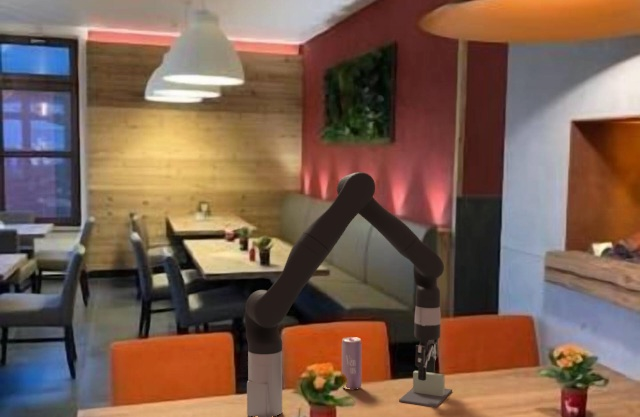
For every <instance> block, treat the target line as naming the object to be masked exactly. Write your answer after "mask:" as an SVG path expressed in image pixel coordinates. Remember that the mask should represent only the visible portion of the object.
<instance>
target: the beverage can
mask: <svg viewBox="0 0 640 417" xmlns="http://www.w3.org/2000/svg"><path fill="white" fill-rule="evenodd" d="M361 340H362V339H361V338H359V337H354V336H353V337H352V336H350V337H349V336H347V337H343V338H342V342H341V375H342V374H344V375H345V376H346V378H347V384H346V387H347V388H350V389H357V388H360V389H361V387H362V341H361Z"/></svg>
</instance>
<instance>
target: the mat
mask: <svg viewBox="0 0 640 417" xmlns="http://www.w3.org/2000/svg"><path fill="white" fill-rule="evenodd" d="M452 392H453V389H452V388H451V389H450V388H445V387H444V396H436V395H429V394H422V393H415V392H413V387H412V388H411V389H410V390H408V391H407V392H406V393H405V394H404V395H403V396H402V397H401V398H399V399H398V401H399V403H405V404H412V405H419V406H424V407H431V408H438V407H439V406H440V405H441V403H442V402H444V400H445V399H446V398H447V397H448V396H449V395H450V394H451V393H452Z"/></svg>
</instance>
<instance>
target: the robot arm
mask: <svg viewBox="0 0 640 417" xmlns="http://www.w3.org/2000/svg"><path fill="white" fill-rule="evenodd" d="M375 192H376V183H375V179H373V177H372V176H371V175H370V174H368V173H366V172H362V171H361V172H357V171H356V172H353V173H350V174H347V175H345V176H343V177H342V178H340V180H339V181H338V182H337V186H336V193H337V196H336V198H335V199H334V201H333V202H332V203H331V204H330V206H329V207H328V208H327V209H326V210H325V211H323V213H322V214H321V215H318V217H317V218H316V219H315V220H314V221H313V222H311V224H310V225H309V226H308V227H307V228H306V229H305V230H304V231H303V232H302V234H301V235H300V236H299V238H298V239H297V240H296V242H295V243H294V244H293V245H292V248H291V250H290V252H289V254H288V256H287V258H286V259H287V260H286V262H285V264H284V267H283V269H282V271H281V273H280V275H279V276H278V278H277V279H276V280H275V282H274V283H273V284H272V285H271V286H270V288H269V289H268V290H266V289H259V290H256V291H254V292H252V293H251V294H250V295H249V297H248V298H247V300H246V302H245V310H244V315H245V320H244V321H245V337H246V341H247V348H248V349H247V351H248V352H247V354H248V356H247V360H248V361H247V366H248V367H247V369H248V372H247V373H248V374H247V375H248V378H247V379H248V380H247V382H246V416H247V415H249V416H248V417H251V416H258V417H272V416H276V417H278V416H277V415H279V414H281V413H282V414H283V340H282V338H281V335H280V332H279V324H281V322H282V321H284V319H285V317H286V316H287V314H288V312H289V311H290V309H291V307H292V305H293V304H294V302H295V300H296V299H297V298H298V296H299V294H300V293H301V291H302V290H303V288H304V287H305V286H306V284H307V283H308V282H309V281H310V279H311V278H312V277H313V275H314V274H315V272H316V271H317V270H318V269H319V267H320V266H321V265H322V264H323V262H324V261H325V260H326V258H327V257H328V256H329V254H330V253H331V251H332V250H333V249H334V247H335V246H336V244H337V243H338V241H339V240H340V239H341V237H342V236H343V235H344V232H345V231H346V229H347V228H348V227H349V224H350V223H351V222H352V221H353V220H354V219H355V218H356V217H357V215H360V217H362V218H363V219H365V221H367V222H368V223H369V224H370V225H371V226H372V227H374V228H375V229H376V230H377V231H378V233H379V234H380V235H382V237H384V239H386V241H388V243H389V244H390V245H391V246H392V247H393V248H394V249H395V250H396V251H397V252H398V253H399V254H400V255H402V256H403V257H404V258H406V259H407V260H408V261H410V262H411V264H413V266H412V267H413V270H412V272H413V278H414V284H415V290H416V291H415V309H414V310H415V311H414V327H413V328H414V329H413V330H414V331H413V332H414V334H413V335H414V338H416V339H418V340H420V341H419V344H416V345H415V356H414V357H415V359H414V366H415V367H417V368H418V369H417V371H418V379H419V380H423V381H424V380H426V372H429V373H436V370H435V369H436V359H437V357H438V356H439V353H438V352H439V350H438V349H439V345H438V344H439V342H438V341H439V339H440V338H441V318H442V317H441V315H442V314H441V291H440V288H439V287H438V285H437V279H438V278H440V277H441V276H442V275H443V273H444V271H445V265H444V262H443V260H442V258H441V257H440V256H439V255H438V254H437V253H436V252H435V251H434V250H432V249H431V248H430V247H429V246H427V245H426V244H425V243H424V242H423V241H422V240H421V239H420V238H419V237H418V236H417V234H416V233H414V231H413V230H411V228H410V227H409V226H407V225H406V223H405V222H403V221H402V220H400V218H398V217H397V216H395V215H393V213H391V212H390V211H389V210H387V209H385V207H383V206H382V205H381V204H380V203H379V202H378V201H377V200H376V199H375V198H374V196H375ZM282 414H281V415H282ZM279 416H280V415H279Z"/></svg>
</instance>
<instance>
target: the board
mask: <svg viewBox="0 0 640 417" xmlns="http://www.w3.org/2000/svg"><path fill="white" fill-rule="evenodd" d="M412 378H413V379H412V388H413V392H415V393H422V394H429V395H436V396H444V388H445V378H446V376H445V373H444V374H443V373H436V372H434V373H429V372H427V371H426V380H424V381H423V380H419V379H418V370H414V371H413V372H412Z"/></svg>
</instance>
